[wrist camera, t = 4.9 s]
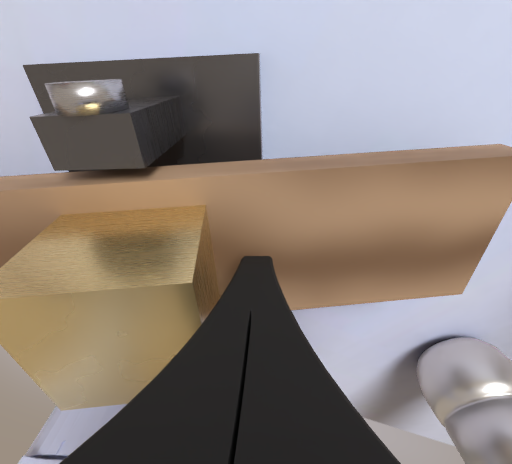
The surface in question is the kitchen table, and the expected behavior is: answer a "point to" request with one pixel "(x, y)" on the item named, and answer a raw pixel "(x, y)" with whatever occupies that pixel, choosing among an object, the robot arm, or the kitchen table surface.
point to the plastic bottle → (470, 397)
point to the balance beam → (306, 216)
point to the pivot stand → (148, 111)
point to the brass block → (107, 301)
